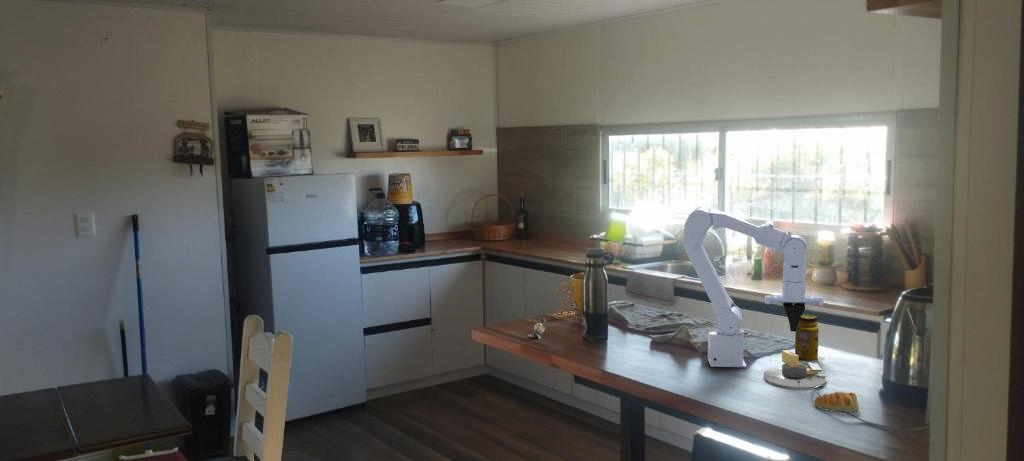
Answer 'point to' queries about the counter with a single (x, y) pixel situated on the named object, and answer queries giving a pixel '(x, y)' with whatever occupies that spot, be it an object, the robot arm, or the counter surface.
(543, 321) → the grey cream animal figurine
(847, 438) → the counter surface
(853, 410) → the pastry
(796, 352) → the condiment
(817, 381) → the post plate
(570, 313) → the gingerbread man figurine
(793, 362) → the multicoloured piece
